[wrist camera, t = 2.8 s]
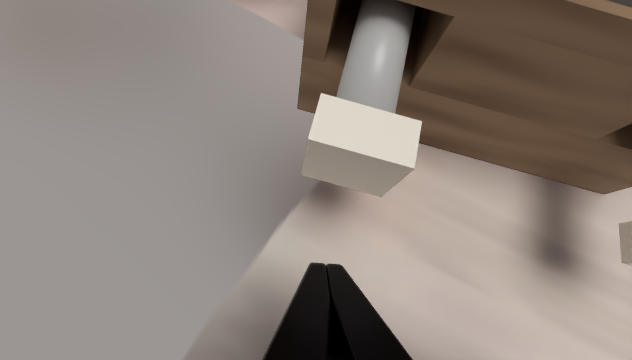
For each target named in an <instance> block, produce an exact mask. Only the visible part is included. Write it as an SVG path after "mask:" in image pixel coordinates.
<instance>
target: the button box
mask: <svg viewBox="0 0 632 360" xmlns="http://www.w3.org/2000/svg"><path fill="white" fill-rule="evenodd" d="M398 1H402V2H405V3H409V4H412V5H416V7H415V12H414V17H413V23H412V28H411V33H410V38H409V44H408V49H407V54H406V59H405V65H404V70H403V75H402V80H401V86H400V91H399V96H398V101H397V107H396V112H395V114H398V115H401V116H405V117H409V118H412V119H416V120H419V121H422V125H421V131H420V138H419V143H422V144H426V145H429V146H433V147H437V148H440V149H444V150H447V151H451V152H454V153H458V154H462V155H465V156H469V157H472V158H476V159H480V160H483V161H487V162H490V163H494V164H498V165H501V166H505V167H508V168H512V169H515V170H519V171H523V172H526V173H530V174H533V175H537V176H541V177H544V178H548V179H551V180H555V181H559V182H562V183H566V184H569V185H573V186H576V187H580V188H584V189H587V190H591V191H594V192H598V193H602V194H607V193H611V192H614V191H618V190H622V189H625V188H629V187H632V7H628V6H625V5H621V4H618V3H615V2H611V1H608V0H398ZM361 2H362V0H308V5H307V15H306V25H305V36H304V46H303V56H302V66H301V77H300V87H299V96H298V107H297V108H298V109H300V110H304V111H308V112H311V113H315V112H316V109H317V105H318V102H319V98H320V95H321V93H323V94H327V95H330V96H334V97H336V96H337V92H338V88H339V84H340V81H341V77H342V73H343V69H344V66H345V62H346V58H347V54H348V51H349V47H350V43H351V40H352V36H353V32H354V28H355V25H356V21H357V17H358V13H359V10H360V6H361Z"/></svg>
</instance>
